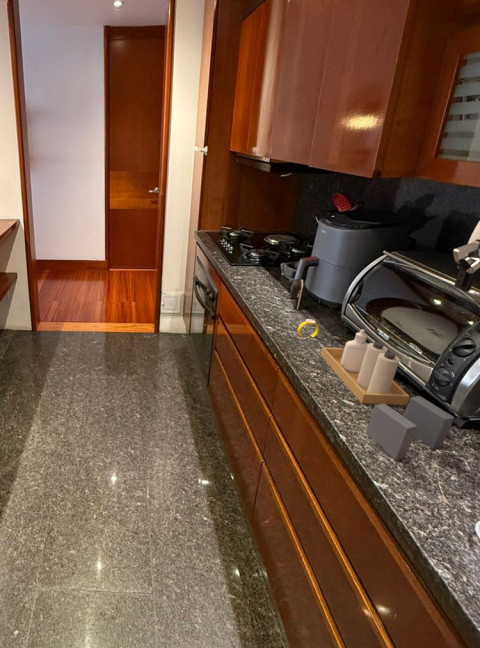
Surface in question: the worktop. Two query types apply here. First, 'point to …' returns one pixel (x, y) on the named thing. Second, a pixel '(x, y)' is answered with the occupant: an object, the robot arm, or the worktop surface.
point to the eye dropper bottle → (354, 353)
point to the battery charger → (297, 292)
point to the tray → (350, 379)
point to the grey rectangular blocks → (408, 426)
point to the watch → (311, 322)
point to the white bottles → (377, 369)
